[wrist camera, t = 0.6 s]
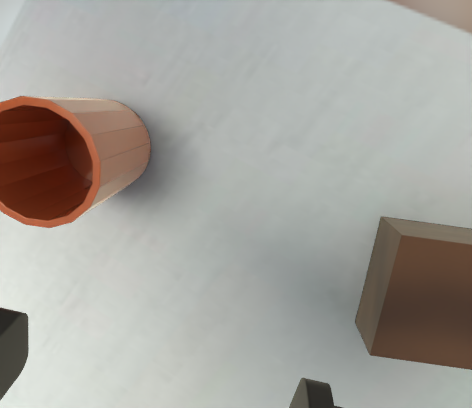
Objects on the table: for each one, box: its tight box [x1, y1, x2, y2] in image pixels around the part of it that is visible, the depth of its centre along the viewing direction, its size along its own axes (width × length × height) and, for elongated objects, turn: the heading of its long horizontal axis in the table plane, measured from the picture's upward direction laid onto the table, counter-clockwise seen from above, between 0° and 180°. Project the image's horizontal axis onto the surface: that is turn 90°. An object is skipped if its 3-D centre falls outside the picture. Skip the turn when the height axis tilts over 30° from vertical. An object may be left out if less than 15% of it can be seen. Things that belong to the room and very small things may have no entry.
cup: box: [0, 96, 151, 228], centre depth 22 cm, size 6×6×9 cm
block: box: [355, 217, 472, 370], centre depth 26 cm, size 9×9×4 cm
